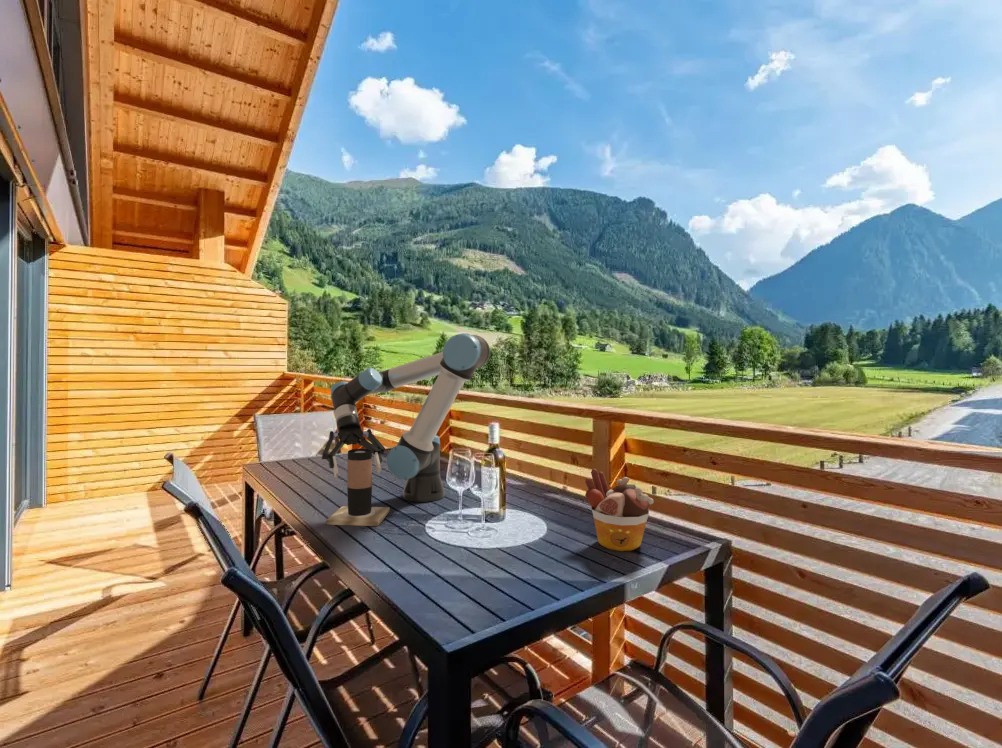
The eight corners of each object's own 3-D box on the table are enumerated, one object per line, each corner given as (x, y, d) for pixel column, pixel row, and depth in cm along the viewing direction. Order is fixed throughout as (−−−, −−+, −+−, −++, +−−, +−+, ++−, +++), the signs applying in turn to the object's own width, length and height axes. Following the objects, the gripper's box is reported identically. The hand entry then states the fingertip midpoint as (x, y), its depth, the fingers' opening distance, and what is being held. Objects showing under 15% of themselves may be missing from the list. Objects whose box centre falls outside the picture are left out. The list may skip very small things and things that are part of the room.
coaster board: (389, 511, 170) (389, 506, 170) (378, 525, 156) (378, 520, 156) (342, 510, 170) (342, 505, 170) (326, 524, 156) (326, 519, 156)
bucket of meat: (664, 547, 141) (666, 476, 141) (629, 562, 131) (631, 486, 130) (606, 528, 157) (608, 464, 156) (571, 540, 146) (572, 471, 145)
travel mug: (341, 513, 162) (342, 451, 161) (359, 507, 168) (359, 447, 168) (360, 517, 158) (360, 453, 157) (376, 511, 165) (377, 449, 164)
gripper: (381, 425, 183) (393, 475, 171) (308, 429, 171) (316, 484, 159) (385, 412, 179) (399, 463, 166) (310, 415, 166) (319, 471, 154)
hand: (358, 473), depth 162 cm, fingers open, 13 cm apart
